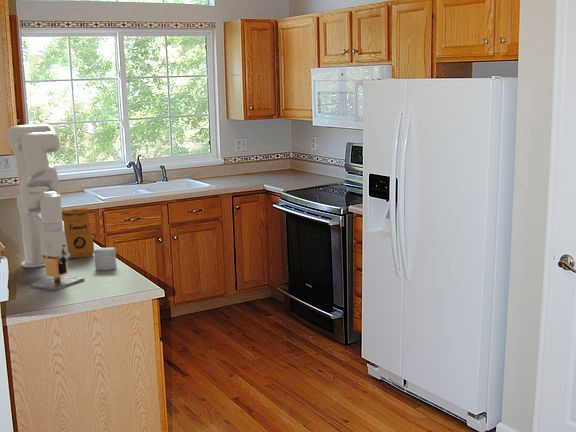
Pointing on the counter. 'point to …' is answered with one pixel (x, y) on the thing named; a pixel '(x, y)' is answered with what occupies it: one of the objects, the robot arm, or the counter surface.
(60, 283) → the base
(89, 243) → the coffee package
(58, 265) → the robot arm
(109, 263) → the medicine box
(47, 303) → the counter surface
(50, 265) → the light orange block
